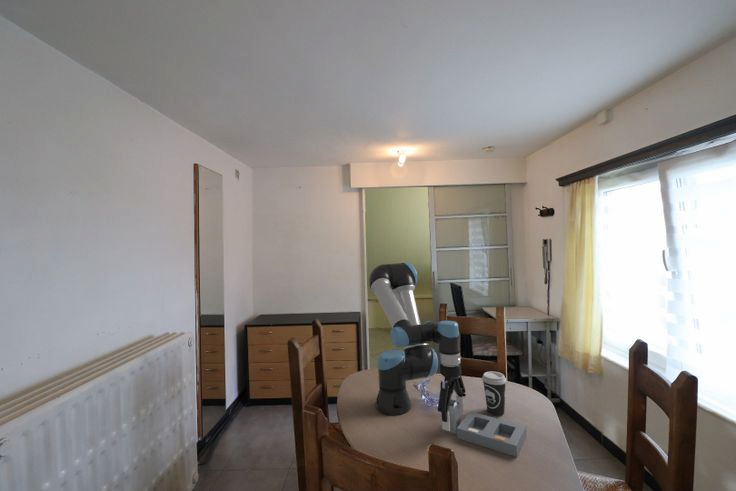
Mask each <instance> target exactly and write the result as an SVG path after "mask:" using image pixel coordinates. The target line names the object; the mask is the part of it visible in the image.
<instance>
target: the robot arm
mask: <svg viewBox="0 0 736 491" xmlns="http://www.w3.org/2000/svg"><path fill="white" fill-rule="evenodd" d="M418 278H419V277H418V272H417V270H416V268H415V266H414V265H413V264H412V263H410V262H400V263H399V262H398V263H382V264H380V265H379V264H378V265H377V266H376V267H374V268H373V269H372V271H371V273H370V275H369V277H368V285H369V288H370V291H371V293H372V294H374V295H375V296H376V298H377V300H378V302H379V304H380V307H381V308H382V310H383V312H384V314H385V316H386V319H387V320H388V323H389V325H390V326H391V330H390V341H391V344H392V345H393V346H394V347H395V348H402V347H403V350H402V349H389V350H386V351H384V352H382V353H381V354H380V355H378V358H377V369H378V371H377V372H378V389H379V390H378V394H377V396H376V399H375V400H376V401H375V408H376V410H377V411H378V412H379V413H381V414H383V415H387V416H398V415H403V414H406V413H408V412H410V411H411V408H412V402H411V401H412V400H411V399H410V396H409V393H408V390H407V381H413V380H418V379H425V378H428V377H433V376H434V375H436V373H437V371H438V366H440V367H439V368H440V369H439V370H440V374H441V376H442V377H443V378H444V381H440V386H439V387H440V389H439V397H438V405H437V412H439V413H440V414H441V415H440V417H441V429H442V430H444V431H446V430H447V431H450V418H449V411H448V408H449V403H450V399H451V398H452V395H453V394H454V392H455V394H456V396H455V401H457V402H459V403H460V415H463V416H464V415H465V402H464V401H465V400H464V398H465V397H466V396H467V393H466V392H467V391H466V388H465V385H464V381H463V377H462V365H461V359H462V356H461V347H460V344H461V343H460V342H461V341H460V331H459V330H460V328H459V324H458V322H457V321H455V320H441V321H439V322H436V321H434V320H426V321H425V322H424V323H421V319H420V316H419V315H420V314H419V310H418V307H417V302H416V297H415V293H414V290H416V285H417V284H418ZM431 343H435V344H438V349H439V351H438V352H439V358H438V355H437V352H436V350H435V349H433V348H431V347H430V344H431ZM439 363H440V364H439Z"/></svg>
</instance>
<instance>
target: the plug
mask: <svg viewBox="0 0 736 491" xmlns="http://www.w3.org/2000/svg"><path fill="white" fill-rule="evenodd" d="M448 411H449V418H450V431H447V430H445V432H447V433H450V434H452V435H455V436H457V427H458V426H459V425H460V424H461V422H462V421H461V414H460V403H459V402H457V401H456V399H455V400H454V399H451V398H450V403H449V408H448Z"/></svg>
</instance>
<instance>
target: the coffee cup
mask: <svg viewBox="0 0 736 491" xmlns="http://www.w3.org/2000/svg"><path fill="white" fill-rule="evenodd" d="M481 377H482V378H481V381H482V382H483V389H484V396H485V405H486V411H487V413H488V414H489V415H492V416H497V417H499V416H500V417H501V416H504V415H505V405H506V383H507V378H506V377H505V374H503V373H501V372H499V371H491V370H490V371H486V372H484V373H483V375H482V376H481Z"/></svg>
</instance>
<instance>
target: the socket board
mask: <svg viewBox="0 0 736 491" xmlns="http://www.w3.org/2000/svg"><path fill="white" fill-rule="evenodd" d="M460 422H461V424H460V425H459V426H458V427H457V435H456V437H457V439H459V440H462V441H464V442H468V443H471V444H475V445H477V446H481V447H483V448H488V449H491V450H494V451H497V452H500V453H502V454H506V455H509V456H512V457H515V458H518V457H519V454H520V452H521V451H522V447H523V445H524V443H525V440H526V439H527V434H528V433H527V425H524V424H520V423H516V422H512V421H509V420H504V419H500V418H498V417H497V418H496V417H493V416H489V415H485V414H481V413H478V412H473V411H469V413H468V414H467V415H466V416H465V418H464V419H463V420H462V421H460Z"/></svg>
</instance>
